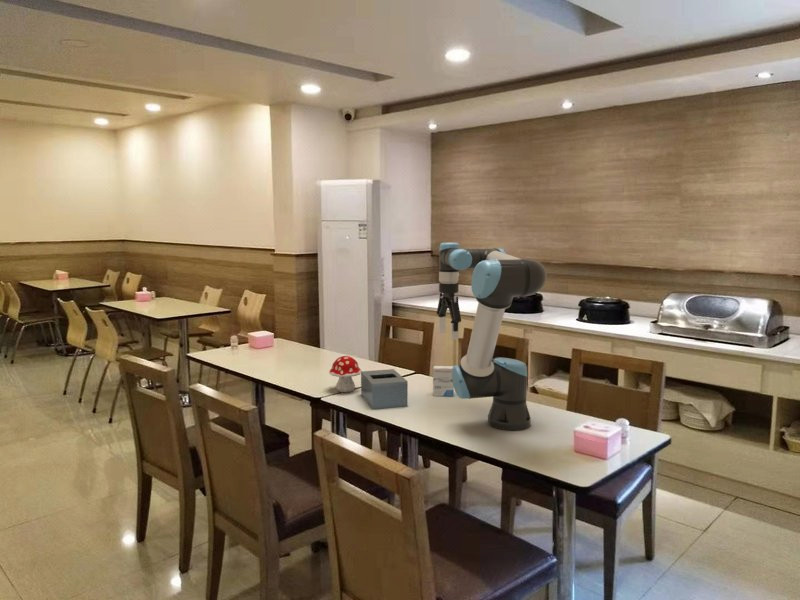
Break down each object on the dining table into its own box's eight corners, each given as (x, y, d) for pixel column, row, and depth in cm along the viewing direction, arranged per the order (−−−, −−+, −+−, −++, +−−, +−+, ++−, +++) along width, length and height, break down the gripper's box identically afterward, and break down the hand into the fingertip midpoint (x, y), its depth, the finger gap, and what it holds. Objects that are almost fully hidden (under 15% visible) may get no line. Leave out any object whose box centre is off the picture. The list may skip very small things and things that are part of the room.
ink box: (453, 393, 249) (454, 365, 247) (453, 396, 244) (453, 368, 242) (433, 392, 250) (433, 365, 248) (432, 396, 245) (433, 368, 243)
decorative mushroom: (323, 393, 248) (322, 358, 246) (338, 384, 261) (337, 351, 259) (353, 396, 243) (353, 361, 242) (367, 388, 256) (366, 354, 254)
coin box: (407, 406, 231) (407, 381, 230) (372, 409, 227) (372, 384, 226) (393, 392, 250) (393, 369, 249) (361, 394, 246) (361, 371, 245)
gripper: (470, 285, 220) (469, 341, 222) (446, 279, 243) (445, 330, 246) (451, 286, 218) (450, 342, 220) (429, 279, 241) (428, 331, 244)
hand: (448, 336), depth 233 cm, fingers open, 13 cm apart
